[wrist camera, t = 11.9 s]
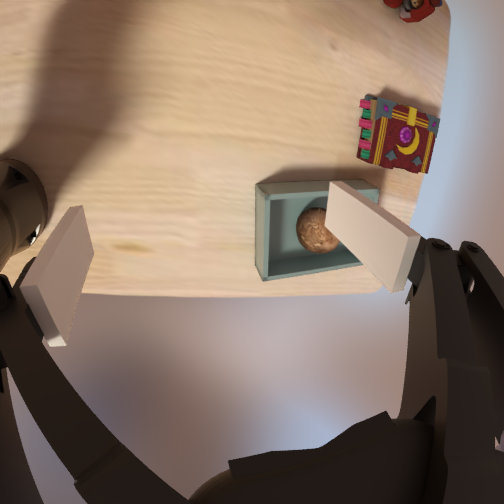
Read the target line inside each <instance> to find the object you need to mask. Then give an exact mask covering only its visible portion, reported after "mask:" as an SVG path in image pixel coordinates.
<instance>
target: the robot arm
mask: <svg viewBox="0 0 504 504" xmlns="http://www.w3.org/2000/svg"><path fill="white" fill-rule="evenodd" d="M46 219H47V199H46V195H45V191H44V189H43V186H42V184H41V182H40V180H39V178H38V177H37V175H36V174H35V173H34V172H33V171H32V170H31V169H30V168H29V167H28V166H27V165H25V164H24V163H22V162H20V161H17V160H13V159H4V160H0V272H1V270H2V269H3V267H4V266H5V264H6V263H7V261H8V260H9V258H10V257H11V256H13V255H15V254H17V253H19V252H21V251H23V250H25V249H27V248H29V247H30V246H31V245H32V244H33V243H34V242H35V241H36V239H37V238H38V237H39V235H40V234H41V232H42V231H43V229H44V226H45V223H46ZM325 227H326V228H327V229H328V230H329V231H330V232H331V233H332V234H333V235H335V236H336V237H337V238H338V239H339V240H340V241H341V242H342V243H343V244H344V245H345V246H346V247H347V248H348V249H349V250H350V251H351V252H352V253H353V254H354V255H355V256H356V257H357V258H358V259H359V260H360V261H361V262H362V263H363V265H364V266H365V267H366V268H367V269H368V270H369V271H370V272H371V273H372V274H373V275H374V276H375V277H376V278H377V279H378V280H379V281H380V282H381V283H382V284H383V285H384V286H385V288H386V289H387V290H388V291H389V292H390V293H394V292H398V291H402V290H404V287H405V284H406V281H407V278H408V279H409V280H410V281H411V282H412V286H411V288H410V291H409V294H408V296H407V299H406V302H405V304H407V303H408V301H410V310H409V311H410V312H409V334H408V349H407V361H406V371H405V380H404V389H403V396H402V403H401V409H400V413H399V416H398V418H397V419H391V418H390V416H389V415H388V413H387V411H384V412H382V413H380V414H378V415H376V416H373V417H371V418H369V419H366V420H364V421H362V422H359V423H356V424H354V425H353V426H351V427H350V428H348V429H347V430H345V431H344V432H343V433H341V434H340V435H338V436H337V437H336V438H334V439H332V440H331V441H329V442H328V443H327V444H325V445H323V446H322V447H319V448H315V449H303V450H288V451H270V452H266V453H262V454H258V455H253V456H249V457H244V458H239V459H234V460H229V461H228V463H229V468H230V469H228V470H226V471H224V472H222V473H220V474H218V475H216V476H214V477H213V478H211V479H209V480H208V481H207V482H205V483H204V484H203V485H202V486H201V487H199V488H198V489H197V490H196V491H195V492H194V494H193V495H192V496H191V497H190V498H189V500H187V499H186V498H184V497H183V496H182V495H181V494H179V493H178V492H176V491H175V490H174V489H173V488H171V487H170V486H169V485H168V484H167V483H165V482H164V481H163V480H162V479H161V478H159V477H158V476H157V475H156V474H155V473H153V472H152V471H151V470H150V469H149V468H148V467H147V466H146V465H144V464H143V463H142V462H141V461H140V460H139V459H138V458H137V457H136V456H135V455H134V454H133V453H132V452H131V451H130V450H129V449H127V448H126V447H125V446H124V445H123V444H122V443H121V442H120V441H119V440H118V439H117V438H116V437H115V436H114V435H113V434H112V433H111V432H110V431H109V430H108V429H107V428H106V426H105V425H104V424H103V423H102V422H101V421H100V420H99V419H98V417H97V416H96V415H95V414H94V413H93V412H92V411H91V409H90V408H89V407H88V406H87V405H86V403H85V402H84V401H83V400H82V398H81V397H80V396H79V395H78V393H77V392H76V391H75V390H74V388H73V387H72V386H71V384H70V383H69V382H68V380H67V379H66V378H65V376H64V375H63V373H62V372H61V370H60V369H59V368H58V366H57V365H56V363H55V362H54V360H53V359H52V357H51V356H50V354H49V353H48V351H47V350H46V348H45V347H44V345H43V343H42V339H43V336H44V337H45V339H46V340H47V342H48V344H49V345H50V346H66V345H67V342H68V337H69V334H70V329H71V326H72V322H73V318H74V315H75V311H76V307H77V304H78V301H79V297H80V294H81V291H82V288H83V284H84V281H85V278H86V275H87V272H88V269H89V266H90V263H91V261H92V258H93V255H94V250H93V247H92V243H91V239H90V235H89V231H88V227H87V222H86V218H85V214H84V209H83V205H81V206H75V207H70V208H69V209H68V210H67V212H66V213H65V214H64V216H63V217H62V219H61V220H60V222H59V223H58V224H57V226H56V227H55V229H54V230H53V232H52V233H51V235H50V236H49V238H48V239H47V241H46V243H45V244H44V246H43V247H42V249H41V251H40V252H39V254H38V255H37V257H33V258H32V259H31V260H30V261H29V262H28V263H27V264H26V265H25V267H24V269H23V270H22V273H21V274H20V275H19V277H18V279H17V281H16V282H15V284H14V286H13V288H12V287H11V285H10V282H9V280H8V278H7V276H6V275H4V274H0V504H44V503H43V501H42V499H41V496H40V494H39V491H38V489H37V487H36V484H35V481H34V479H33V476H32V474H31V471H30V468H29V465H28V462H27V459H26V456H25V453H24V450H23V446H22V443H21V439H20V436H19V432H18V428H17V424H16V420H15V416H14V411H13V406H12V401H11V396H10V390H9V384H8V378H7V371H6V367H8V368H9V371H10V373H11V375H12V377H13V379H14V382H15V384H16V386H17V388H18V390H19V392H20V394H21V396H22V398H23V400H24V402H25V404H26V405H27V407H28V409H29V411H30V413H31V414H32V416H33V418H34V420H35V421H36V423H37V425H38V426H39V428H40V430H41V431H42V433H43V435H44V436H45V438H46V439H47V441H48V442H49V444H50V445H51V447H52V448H53V450H54V451H55V453H56V454H57V456H58V457H59V459H60V460H61V461H62V463H63V464H64V465H65V467H66V468H67V470H68V471H69V472H70V474H71V475H72V476H73V478H74V480H75V482H74V486H75V488H76V489H77V491H78V492H79V494H80V495H81V496H82V498H83V499H84V500H85V501H86V502H87V503H88V504H504V277H503V276H502V274H501V273H500V272H499V270H498V269H497V267H496V266H495V265H494V263H493V262H492V261H491V259H490V258H489V257H488V255H487V254H486V253H485V252H484V250H483V249H482V248H481V247H480V246H478V245H477V244H476V243H474V242H469V241H463V242H462V244H461V247H460V249H459V251H457V250H452V248H451V246H450V245H449V244H447V243H446V242H444V241H443V240H440V239H435V238H429V239H427V240H426V239H425V238H423V237H422V236H421V235H420V234H418V233H417V232H416V231H414V230H413V229H412V228H410V227H409V226H408V225H406V224H405V223H404V222H402V221H401V220H399V219H398V218H397V217H395V216H394V215H392V214H391V213H389V212H388V211H386V210H385V209H384V208H382V207H381V206H379V205H378V204H376V203H375V202H373V201H372V200H370V199H369V198H367V197H366V196H364V195H363V194H361V193H359V192H358V191H356V190H355V189H353V188H352V187H350V186H348V185H347V184H345V183H344V182H342V181H330V186H329V195H328V203H327V211H326V219H325ZM473 281H474V288H473V290H472V292H471V291H470V287H471V285H472V282H473ZM495 437H496V439H497V441H498V443H499V445H498V446H497V447H496V448H495Z"/></svg>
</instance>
